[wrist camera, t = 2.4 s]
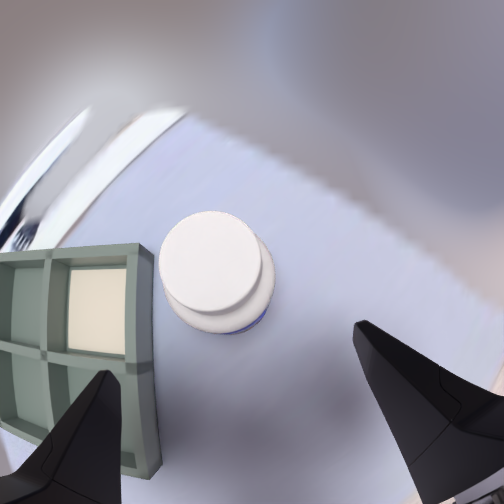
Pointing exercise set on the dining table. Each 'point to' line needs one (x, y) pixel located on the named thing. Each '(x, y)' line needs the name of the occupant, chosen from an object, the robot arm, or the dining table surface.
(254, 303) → the pill bottle
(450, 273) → the dining table surface
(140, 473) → the divided tray
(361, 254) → the dining table surface
